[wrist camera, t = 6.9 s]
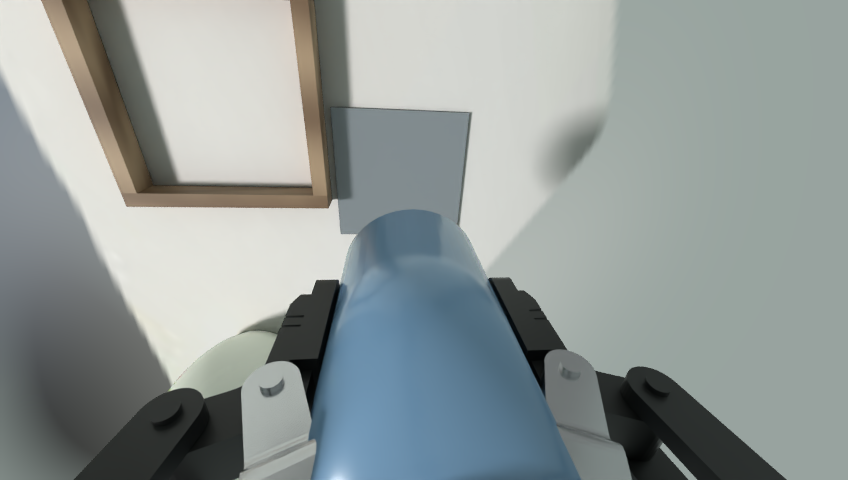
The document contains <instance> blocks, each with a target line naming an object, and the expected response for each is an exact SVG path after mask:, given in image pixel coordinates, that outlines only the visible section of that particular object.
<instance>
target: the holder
mask: <svg viewBox="0 0 848 480" xmlns="http://www.w3.org/2000/svg"><path fill="white" fill-rule="evenodd" d="M41 1H42V3H43V6H44V8H45V11H46V13H47V15H48V18H49V20H50V23H51V25H52V27H53V30H54V32H55V35H56V37H57V40H58V42H59V44H60V47H61V49H62V52H63V54H64V56H65V59H66V61H67V64H68V66H69V69H70V71H71V73H72V76H73V78H74V81H75V83H76V85H77V88H78V90H79V93H80V95H81V98H82V100H83V102H84V105H85V107H86V110H87V112H88V114H89V117H90V119H91V122H92V124H93V127H94V129H95V131H96V134H97V136H98V139H99V141H100V143H101V146H102V148H103V151H104V153H105V156H106V158H107V160H108V163H109V165H110V168H111V170H112V172H113V175H114V177H115V180H116V182H117V185H118V187H119V189H120V192H121V194H122V197H123V199H124V201H125V204H126V206H127V207H236V208H329V206H330V203H331V201H332V193H331V182H330V171H329V160H328V149H327V138H326V127H325V116H324V105H323V94H322V83H321V72H320V61H319V50H318V39H317V28H316V17H315V6H314V0H290V4H291V12H292V20H293V29H294V37H295V46H296V54H297V62H298V71H299V79H300V88H301V96H302V104H303V113H304V121H305V130H306V138H307V147H308V155H309V163H310V172H311V180H312V188H299V187H232V186H166V185H153V183H152V180H151V177H150V174H149V172H148V169H147V166H146V163H145V160H144V158H143V155H142V152H141V149H140V147H139V144H138V141H137V138H136V135H135V133H134V130H133V127H132V124H131V122H130V119H129V116H128V113H127V110H126V108H125V105H124V102H123V99H122V97H121V94H120V91H119V88H118V85H117V83H116V80H115V77H114V74H113V72H112V69H111V66H110V63H109V60H108V58H107V55H106V52H105V49H104V47H103V44H102V41H101V38H100V35H99V33H98V30H97V27H96V24H95V21H94V19H93V16H92V13H91V10H90V8H89V5H88V2H87V0H41Z"/></svg>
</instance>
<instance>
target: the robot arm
mask: <svg viewBox="0 0 848 480" xmlns="http://www.w3.org/2000/svg"><path fill="white" fill-rule="evenodd" d="M488 280H489V282H490V284H491V286H492V288H493V290H494V293H495V295H496V297H497V299H498V301H499V303H500V305H501V307H502V309H503V311H504V313H505V316H506V318H507V320H508V322H509V324H510V326H511V328H512V330H513V332H514V334H515V336H516V339H517V341H518V343H519V345H520V347H521V349H522V351H523V353H524V355H525V357H526V359H527V362H528V364H529V366H530V368H531V370H532V372H533V374H534V376H535V378H536V380H537V383H538V385H539V387H540V389H541V391H542V393H543V395H544V397H545V399H546V401H547V403H548V406H549V408H550V410H551V412H552V414H553V416H554V418H555V420H556V422H557V423H556V425H557V428H558V430H559V433H560V435H561V437H562V440H563V442H564V444H565V446H566V448H567V450H568V452H569V454H570V457H571V459H572V461H573V463H574V465H575V467H576V469H577V471H578V473H579V476H580V478H581V480H688V479H687V478H686V477H685V476H684V474H683V473H682V472H681V471H680V470H679V469H678V468H677V467H676V465H675V464H674V463H673V462H672V461H671V460H670V459H669V458H668V457H667V455H666V454H665V453H664V452H663V451H662V450H661V449H660V448H659V447H660V446H661V444H662V443H664V444H665V445H666V446H667V447H668V448H669V449H670V450H671V451H672V453H673V454H674V455H675V456H676V457H677V458H678V459H679V460H680V461H681V462H682V463H683V464H684V466H685V467H686V468H687V469H688V470H689V471H690V472H691V473H692V474H693V475H694V476H695V477H696V479H697V480H786V479H785V478H784V477H783V476H782V475H781V474H779V473H778V472H777V471H776V470H775V469H774V468H772V467H771V466H770V465H769V464H768V463H767V462H766V461H765V460H763V459H762V458H761V457H760V456H759V455H758V454H757V453H755V452H754V451H753V450H752V449H751V448H750V447H749V446H747V445H746V444H745V443H744V442H743V441H742V440H741V439H739V438H738V437H737V436H736V435H735V434H734V433H733V432H732V431H730V430H729V429H728V428H727V427H726V426H725V425H724V424H722V423H721V422H720V421H719V420H718V419H717V418H716V417H714V416H713V415H712V414H711V413H710V412H709V411H708V410H706V409H705V408H704V407H703V406H702V405H701V404H699V403H698V402H697V401H696V400H695V399H694V398H693V397H692V396H691V395H689V394H688V393H687V392H686V391H685V390H684V389H683V388H681V387H680V386H679V385H678V384H677V383H676V382H674V381H673V380H672V379H671V378H669V377H668V376H666V375H665V374H663V373H661V372H659V371H657V370H654V369H651V368H647V367H634V368H631V369H630V370H629V371H628V373H627V375H626V377H625V378H624V377H620V376H615V375H611V374H606V373H601V372H598V371H595V370H594V368H593V367H592V365H591V364H590V363H589V362H588V361H587V360H586V359H584V358H583V357H582V356H580V355H578V354H576V353H574V352H571V351H568V350H567V349H566V347H565V346H564V344H563V342H562V341H561V339H560V338H559V336H558V335H557V333H556V332H555V330H554V328H553V327H552V325H551V324H550V322H549V321H548V320H547V318H546V316H545V315H544V313H543V311H541V308H540V307H539V305H538V303H537V302H536V300H535V299H534V298H533V297H531V296H530V295H529V294H528V293H526V292H525V291H518V290H517V289H516V287H515V285H514V284H513V282H512V280H511V279H510V278H489V279H488ZM339 287H340V285H339V280H317V281H316V283H315V285H314V288H313V291H312V294H309V295H300V296H299V297H298V298H297V299H296V300H295V301H293V302H292V303H291V304H290V306H289V309H288V311H287V314H286V318H284V321H283V323H282V327H281V328H280V330H279V333H278V335H277V337H276V340H275V342H274V344H273V347H272V349H271V352H270V354H269V356H268V359H267V361H266V363H265V365H263V366H261V367H259V368H258V369H256V370H255V371H254V372H253V373H251V374H250V375H249V376H248V378H247V379H246V380H245V382H244V384H243V386H241V387H239V388H236V389H234V390H231V391H228V392H224V393H221V394H218V395H215V396H211V397H208V398H205V399H204V398H203V396H202V394H201V393H200V392H199V391H198V390H196V389H192V388H179V389H175V390H172V391H169V392H167V393H164V394H162V395H160V396H158V397H156V398H155V399H153V400H152V401H150V402H149V403H147V404H146V405H145V406H144V407H143V408H142V409H140V411H138V412H137V414H136V415H135V416H134V417H133V418H132V419H131V420H130V421H129V422H128V423H127V424H126V425H125V426H124V427H123V429H121V430H120V432H119V433H118V434H117V435H116V436H115V437H114V438H113V439H112V440H111V441H110V442H109V443H108V444H107V445H106V446H105V447H104V448H103V450H102V451H101V452H100V453H99V454H98V455H97V456H96V457H95V458H94V459H93V460H92V461H91V462H90V463H89V464H88V465H87V466H86V468H84V470H83V471H82V472H81V473H80V474H79V475H78V476H77V477H76V478H75V479H74V480H235V479H237V478H239V480H311V475H312V470H313V465H314V460H315V454H316V440H315V439H311V440H309V441H308V437H309V431H310V427H311V422H312V420H311V416H310V413H311V409H312V404H313V400H314V396H315V391H316V387H317V383H318V378H319V374H320V369H321V365H322V361H323V356H324V352H325V348H326V343H327V339H328V335H329V330H330V326H331V322H332V317H333V313H334V309H335V304H336V300H337V296H338V291H339Z"/></svg>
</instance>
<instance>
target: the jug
mask: <svg viewBox="0 0 848 480" xmlns="http://www.w3.org/2000/svg"><path fill="white" fill-rule="evenodd" d="M310 416H311V420H312V422H311V427H310V431H309V437H308V441H309V440H311V439H315V440H316V454H315V460H314V465H313V470H312V475H311V480H581V478H580V476H579V473H578V471H577V469H576V467H575V465H574V463H573V461H572V459H571V457H570V454H569V452H568V450H567V448H566V446H565V444H564V442H563V440H562V437H561V435H560V433H559V430H558V428H557V425H556V423H557V422H556V420H555V418H554V416H553V414H552V412H551V410H550V408H549V406H548V403H547V401H546V399H545V397H544V395H543V393H542V391H541V389H540V387H539V385H538V383H537V380H536V378H535V376H534V374H533V372H532V370H531V368H530V366H529V364H528V362H527V359H526V357H525V355H524V353H523V351H522V349H521V347H520V345H519V343H518V341H517V339H516V336H515V334H514V332H513V330H512V328H511V326H510V324H509V322H508V320H507V318H506V316H505V313H504V311H503V309H502V307H501V305H500V303H499V301H498V299H497V297H496V295H495V293H494V290H493V288H492V286H491V284H490V282H489V280H488V278H487V276H486V274H485V272H484V269H483V267H482V265H481V263H480V261H479V259H478V257H477V255H476V253H475V251H474V249H473V246H472V244H471V242H470V240H469V239H468V237H467V235H466V234H465V233H464V231H463V230H462V229H461V228H460V227H459V226H458V225H457V224H456V223H454V222H453V221H451V220H450V219H448V218H446V217H444V216H442V215H440V214H437V213H434V212H431V211H426V210H417V209H409V210H400V211H394V212H391V213H388V214H385V215H383V216H381V217H378V218H377V219H375V220H373V221H372V222H370V223H369V224H368V225H366V226H365V227H364V228H363V229H362V230H361V231H360V232H359V233H358V234H357V235H356V237H355V238H354V240H353V241H352V243H351V245H350V247H349V250H348V253H347V256H346V261H345V265H344V269H343V274H342V278H341V282H340V287H339V291H338V296H337V300H336V304H335V309H334V313H333V317H332V322H331V326H330V330H329V335H328V339H327V343H326V348H325V352H324V356H323V361H322V365H321V369H320V374H319V378H318V383H317V387H316V391H315V396H314V400H313V404H312V409H311V413H310Z"/></svg>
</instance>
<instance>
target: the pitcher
mask: <svg viewBox="0 0 848 480" xmlns="http://www.w3.org/2000/svg"><path fill="white" fill-rule="evenodd" d="M277 335H278V334H275V333H272V332H268V331H248V332H244V333H241V334H239V335H236V336H233V337H230V338H228V339H226V340H224V341H222V342H220V343H219V344H217V345H216V346H214V347H213V348H211V349H210V350H208V351H207V352H206V353H205V354H203V355H202V356H201V357H200V358H198V359H197V360H196V361H195V362H194V363H193V364H192V365H191V366H190V367H188V368H187V369H186V371H185V372H184V373H183V374H182V375H181V376H180V377H179V378H178V379H177V381H176V382H175V383H174V384H173V386H172V387H171V388H170V389H169V391H172V390H175V389H179V388H192V389H196V390H198V391H199V392H200V393H201V394H202V396H203V398H204V399H205V398H208V397H211V396H215V395H218V394H221V393H224V392H228V391H231V390H234V389H236V388H239V387H241V386H243V384H244V382H245V380H246V379H247V378H248V376H249V375H250V374H251V373H253V372H254V371H255V370H256V369H258V368H259V367H261V366H263V365H265V363H266V361H267V359H268V356H269V354H270V352H271V349H272V347H273V344H274V342H275V340H276V337H277ZM169 391H168V392H169ZM235 480H239V478H237V479H235Z"/></svg>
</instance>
